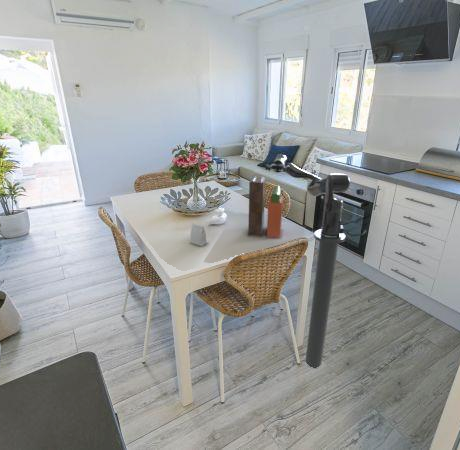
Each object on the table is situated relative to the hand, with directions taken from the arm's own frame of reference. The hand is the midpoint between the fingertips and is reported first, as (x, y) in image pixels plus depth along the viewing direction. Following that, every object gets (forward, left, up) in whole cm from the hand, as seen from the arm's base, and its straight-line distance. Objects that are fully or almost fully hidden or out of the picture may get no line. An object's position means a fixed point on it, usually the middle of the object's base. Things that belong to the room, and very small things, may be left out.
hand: (276, 169), depth 183 cm
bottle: (-2, +19, -11) cm, 22 cm away
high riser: (+8, +23, -31) cm, 40 cm away
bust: (+31, +15, -31) cm, 47 cm away
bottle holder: (-2, +23, -31) cm, 39 cm away
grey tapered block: (+35, +43, -31) cm, 64 cm away
